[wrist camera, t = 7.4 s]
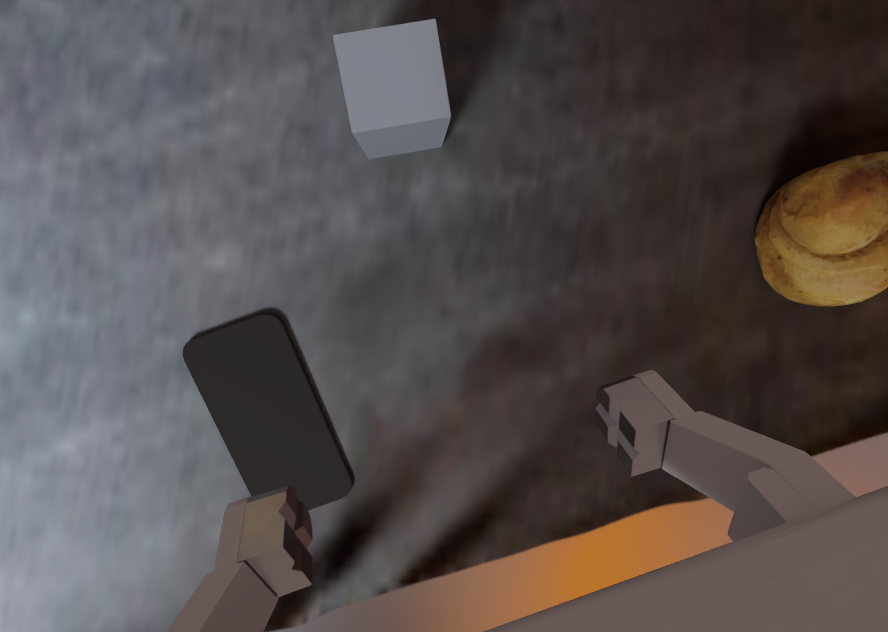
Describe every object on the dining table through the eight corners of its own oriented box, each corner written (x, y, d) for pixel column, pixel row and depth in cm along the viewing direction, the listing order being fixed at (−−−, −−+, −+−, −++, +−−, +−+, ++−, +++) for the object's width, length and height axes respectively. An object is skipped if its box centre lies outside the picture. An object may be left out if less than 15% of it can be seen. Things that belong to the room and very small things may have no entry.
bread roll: (901, 139, 33) (1056, 108, 25) (907, 271, 34) (1054, 282, 26) (728, 182, 32) (829, 165, 24) (744, 313, 34) (842, 336, 26)
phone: (265, 526, 34) (175, 345, 31) (268, 519, 35) (181, 342, 32) (357, 492, 34) (276, 308, 31) (358, 486, 35) (279, 306, 32)
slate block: (368, 159, 30) (352, 133, 23) (354, 88, 30) (332, 35, 22) (442, 146, 31) (450, 116, 23) (430, 75, 30) (435, 18, 22)
